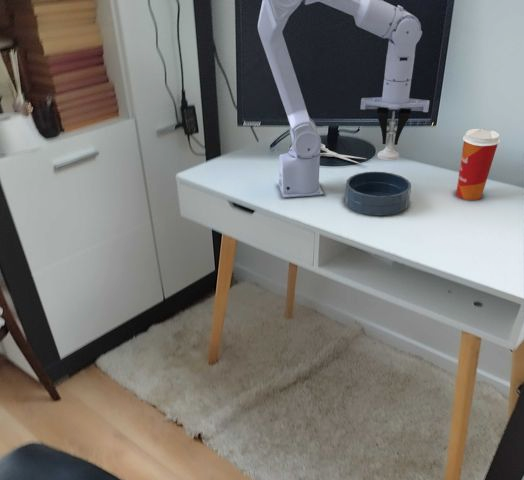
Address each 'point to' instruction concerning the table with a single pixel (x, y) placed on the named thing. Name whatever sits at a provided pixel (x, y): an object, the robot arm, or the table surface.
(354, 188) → the bowl
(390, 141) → the chess piece
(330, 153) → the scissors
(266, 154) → the table surface
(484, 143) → the paper cup
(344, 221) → the table surface
